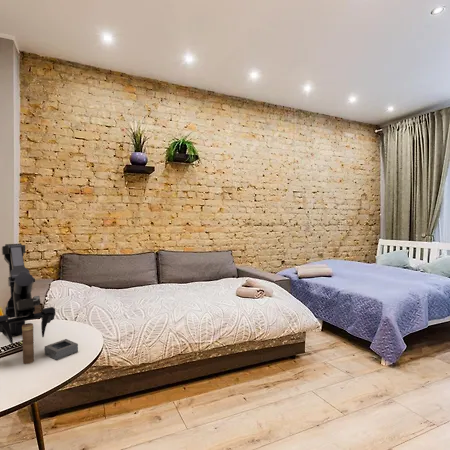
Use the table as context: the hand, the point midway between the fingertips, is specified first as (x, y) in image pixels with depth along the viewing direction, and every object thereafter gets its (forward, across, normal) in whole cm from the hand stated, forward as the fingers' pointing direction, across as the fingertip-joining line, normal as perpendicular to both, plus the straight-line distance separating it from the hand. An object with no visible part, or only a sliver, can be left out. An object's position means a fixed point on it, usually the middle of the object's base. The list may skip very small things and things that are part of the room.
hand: (28, 340), depth 109 cm
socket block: (+5, +10, +6) cm, 13 cm away
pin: (+5, 0, +6) cm, 8 cm away
